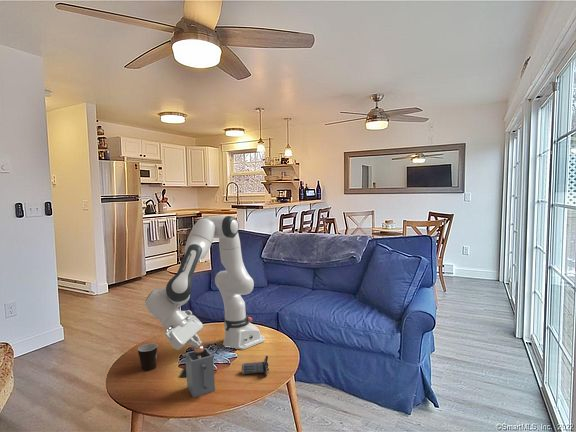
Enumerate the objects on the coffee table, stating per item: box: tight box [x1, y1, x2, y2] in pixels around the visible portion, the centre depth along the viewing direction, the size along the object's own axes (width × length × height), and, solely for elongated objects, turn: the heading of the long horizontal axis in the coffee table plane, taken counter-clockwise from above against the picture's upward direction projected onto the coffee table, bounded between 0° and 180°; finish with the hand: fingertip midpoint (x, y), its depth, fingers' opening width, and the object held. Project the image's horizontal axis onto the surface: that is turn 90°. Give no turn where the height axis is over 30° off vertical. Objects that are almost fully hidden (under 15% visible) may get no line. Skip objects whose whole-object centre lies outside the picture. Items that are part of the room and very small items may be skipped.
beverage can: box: [241, 355, 270, 378], centre depth 160 cm, size 9×8×12 cm
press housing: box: [184, 347, 216, 398], centre depth 148 cm, size 9×12×15 cm
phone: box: [179, 364, 187, 379], centre depth 166 cm, size 8×1×15 cm
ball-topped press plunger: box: [193, 344, 204, 359], centre depth 148 cm, size 6×6×14 cm
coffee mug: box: [137, 342, 158, 372], centre depth 170 cm, size 12×9×10 cm
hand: (199, 345), depth 147 cm, fingers closed, pressing on ball-topped press plunger
